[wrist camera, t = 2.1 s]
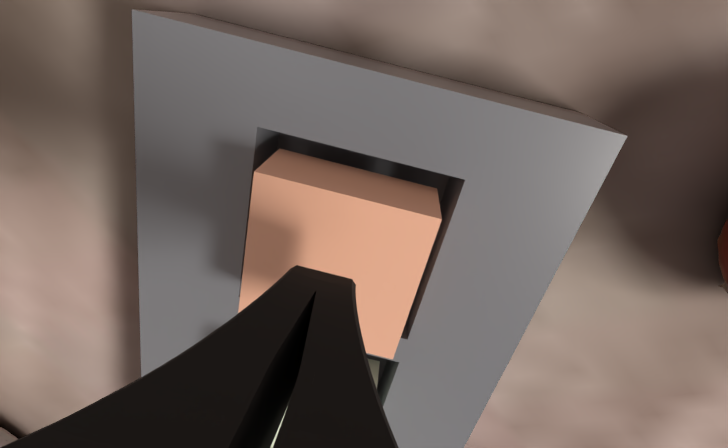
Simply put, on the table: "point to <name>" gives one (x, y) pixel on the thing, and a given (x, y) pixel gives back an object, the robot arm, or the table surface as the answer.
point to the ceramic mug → (6, 437)
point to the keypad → (367, 152)
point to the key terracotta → (342, 236)
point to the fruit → (724, 254)
